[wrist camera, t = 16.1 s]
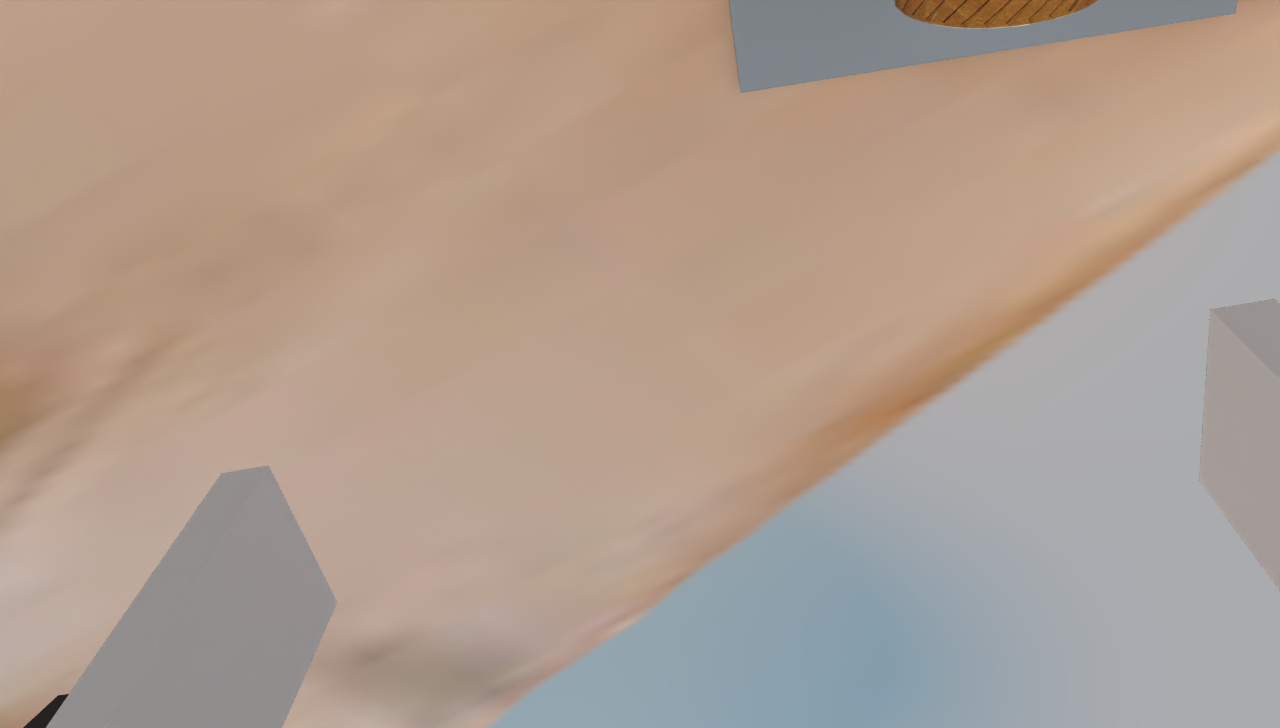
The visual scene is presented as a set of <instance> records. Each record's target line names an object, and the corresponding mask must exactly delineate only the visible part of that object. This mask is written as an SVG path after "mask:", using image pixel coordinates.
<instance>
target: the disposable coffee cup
mask: <svg viewBox="0 0 1280 728" xmlns="http://www.w3.org/2000/svg"><path fill="white" fill-rule="evenodd" d="M1096 1H1098V0H894V2H895V7H896V8H898V9H899V10H900V11H901V12H902V13H903V14H904V15H906V16H908V17H910V18H912V19H915V20H918V21H922V22H925V23H929V24H934V25H939V26H946V27H953V28H1003V27H1015V26H1024V25H1029V24H1034V23H1038V22H1043V21H1047V20H1052V19H1057V18H1060V17H1063V16H1066V15H1069V14H1072V13H1075V12H1077V11H1080V10H1082V9H1084V8H1086V7H1088V6H1090V5H1092V4H1093V3H1095V2H1096Z"/></svg>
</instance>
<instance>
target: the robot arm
mask: <svg viewBox="0 0 1280 728" xmlns="http://www.w3.org/2000/svg"><path fill="white" fill-rule="evenodd" d="M1203 412H1204V413H1203V425H1202V441H1201V456H1200V472H1199V481H1200V482H1201V484H1202V485H1203V486H1204V487H1205V489H1206V490H1207V492H1208V493H1209V495H1210V496H1211V497H1212V499H1213V500H1214V501H1215V503H1216V504H1217V506H1218V507H1219V508H1220V510H1221V511H1222V512H1223V514H1224V515H1225V516H1226V518H1227V519H1228V521H1229V522H1230V523H1231V525H1232V526H1233V527H1234V529H1235V530H1236V532H1237V533H1238V534H1239V536H1240V537H1241V538H1242V540H1243V541H1244V542H1245V544H1246V545H1247V547H1248V548H1249V549H1250V551H1251V552H1252V553H1253V555H1254V556H1255V557H1256V559H1257V560H1258V562H1259V563H1260V564H1261V566H1262V567H1263V568H1264V570H1265V571H1266V572H1267V574H1268V575H1269V577H1270V578H1271V579H1272V581H1273V582H1274V584H1275V585H1276V586H1277V588H1278V589H1279V590H1280V303H1278V302H1277V301H1276V300H1275V299H1271V300H1264V301H1258V302H1252V303H1246V304H1240V305H1234V306H1229V307H1222V308H1216V309H1210V319H1209V335H1208V351H1207V366H1206V381H1205V396H1204V410H1203ZM336 604H337V600H336V598H335V596H334V595H333V593H332V591H331V589H330V587H329V585H328V583H327V581H326V579H325V577H324V575H323V573H322V571H321V569H320V567H319V565H318V563H317V561H316V559H315V557H314V555H313V553H312V551H311V549H310V547H309V545H308V543H307V541H306V539H305V537H304V535H303V533H302V531H301V529H300V527H299V525H298V523H297V521H296V519H295V517H294V515H293V513H292V511H291V509H290V507H289V505H288V503H287V501H286V499H285V497H284V495H283V493H282V491H281V489H280V487H279V485H278V483H277V481H276V479H275V477H274V475H273V473H272V471H271V469H270V467H269V466H263V467H257V468H251V469H245V470H239V471H233V472H227V473H221V475H220V476H219V478H218V479H217V481H216V482H215V484H214V485H213V486H212V488H211V489H210V491H209V492H208V494H207V495H206V497H205V498H204V499H203V501H202V502H201V504H200V505H199V507H198V508H197V510H196V511H195V512H194V514H193V515H192V517H191V518H190V520H189V521H188V523H187V524H186V525H185V527H184V528H183V530H182V531H181V533H180V534H179V536H178V537H177V538H176V540H175V541H174V543H173V544H172V546H171V547H170V549H169V550H168V552H167V553H166V554H165V556H164V557H163V559H162V560H161V562H160V563H159V565H158V566H157V567H156V569H155V570H154V572H153V573H152V575H151V576H150V578H149V579H148V580H147V582H146V583H145V585H144V586H143V588H142V589H141V591H140V592H139V593H138V595H137V596H136V598H135V599H134V601H133V602H132V604H131V605H130V607H129V608H128V609H127V611H126V612H125V614H124V615H123V617H122V618H121V620H120V621H119V622H118V624H117V625H116V627H115V628H114V630H113V631H112V633H111V634H110V635H109V637H108V638H107V640H106V641H105V643H104V644H103V646H102V647H101V648H100V650H99V651H98V653H97V654H96V656H95V657H94V659H93V660H92V662H91V663H90V664H89V666H88V667H87V669H86V670H85V672H84V673H83V675H82V676H81V677H80V679H79V680H78V682H77V683H76V685H75V686H74V688H73V689H72V690H71V692H70V693H69V694H66V695H58V696H57V697H56V698H55V699H54V700H53V701H52V702H51V703H50V704H48V705H47V706H46V707H45V708H44V709H43V710H42V711H41V712H40V713H39V714H38V715H37V716H35V717H34V718H33V719H32V720H31V721H30V722H29V723H28V724H27V725H26V726H25V727H24V728H282V727H283V724H284V722H285V720H286V718H287V715H288V713H289V711H290V708H291V706H292V704H293V702H294V699H295V697H296V695H297V692H298V690H299V688H300V686H301V683H302V681H303V679H304V677H305V674H306V672H307V670H308V667H309V665H310V663H311V661H312V658H313V656H314V654H315V651H316V649H317V647H318V645H319V642H320V640H321V638H322V636H323V633H324V631H325V629H326V626H327V624H328V622H329V620H330V617H331V615H332V613H333V610H334V608H335V606H336Z"/></svg>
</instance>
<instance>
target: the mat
mask: <svg viewBox="0 0 1280 728" xmlns="http://www.w3.org/2000/svg"><path fill="white" fill-rule="evenodd" d="M729 5H730V13H731V21H732V29H733V37H734V45H735V52H736V60H737V68H738V76H739V84H740V92H741V93H743V92H750V91H756V90H762V89H768V88H774V87H781V86H787V85H793V84H799V83H806V82H812V81H818V80H824V79H830V78H837V77H843V76H849V75H855V74H862V73H868V72H874V71H880V70H886V69H893V68H899V67H905V66H911V65H918V64H924V63H930V62H936V61H943V60H949V59H955V58H961V57H967V56H974V55H980V54H986V53H992V52H999V51H1005V50H1011V49H1017V48H1023V47H1030V46H1036V45H1042V44H1048V43H1055V42H1061V41H1067V40H1073V39H1080V38H1086V37H1092V36H1098V35H1104V34H1111V33H1117V32H1123V31H1129V30H1136V29H1142V28H1148V27H1154V26H1160V25H1167V24H1173V23H1179V22H1185V21H1192V20H1198V19H1204V18H1210V17H1217V16H1223V15H1229V14H1235V13H1236V6H1237V0H1098V1H1096V2H1095V3H1093V4H1092V5H1090V6H1088V7H1086V8H1084V9H1082V10H1080V11H1077V12H1075V13H1072V14H1069V15H1066V16H1063V17H1060V18H1057V19H1052V20H1047V21H1043V22H1038V23H1034V24H1029V25H1024V26H1015V27H1003V28H953V27H946V26H939V25H934V24H929V23H925V22H922V21H918V20H915V19H912V18H910V17H908V16H906V15H904V14H903V13H902V12H901V11H900V10H899V9H898V8H896V7H895V2H894V0H729Z"/></svg>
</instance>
